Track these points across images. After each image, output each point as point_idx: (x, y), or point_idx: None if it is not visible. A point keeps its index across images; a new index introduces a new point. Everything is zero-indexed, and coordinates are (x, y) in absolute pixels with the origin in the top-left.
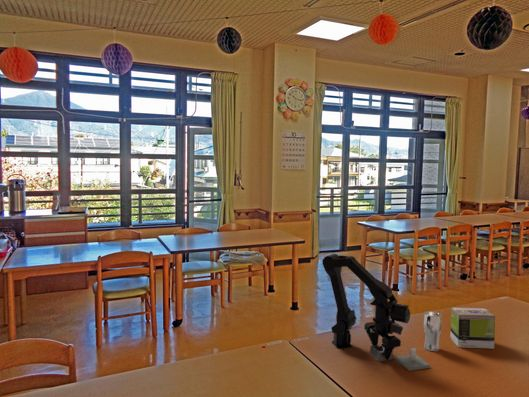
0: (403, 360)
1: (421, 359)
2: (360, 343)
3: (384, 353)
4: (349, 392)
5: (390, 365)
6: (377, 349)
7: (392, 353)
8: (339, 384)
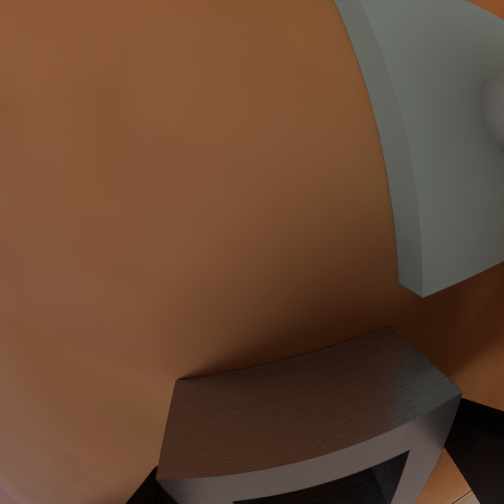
0: (502, 224)
1: (459, 3)
2: (43, 467)
3: (475, 469)
4: None
5: (467, 360)
6: (253, 501)
7: (439, 372)
8: (457, 499)
